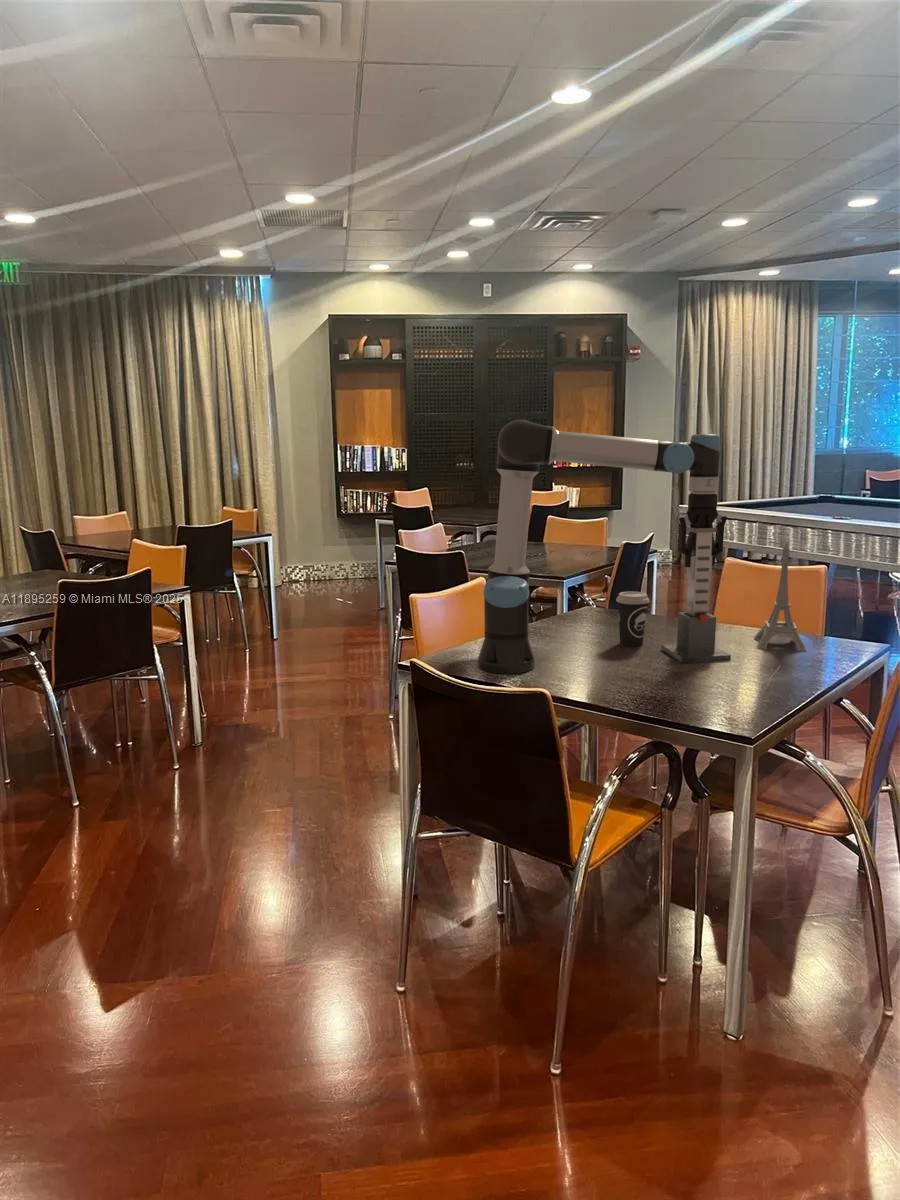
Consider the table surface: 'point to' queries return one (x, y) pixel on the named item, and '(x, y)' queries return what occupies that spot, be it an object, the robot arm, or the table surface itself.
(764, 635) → the eiffel tower
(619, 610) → the coffee cup
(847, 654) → the table surface
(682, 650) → the stand base
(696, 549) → the column
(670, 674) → the table surface
